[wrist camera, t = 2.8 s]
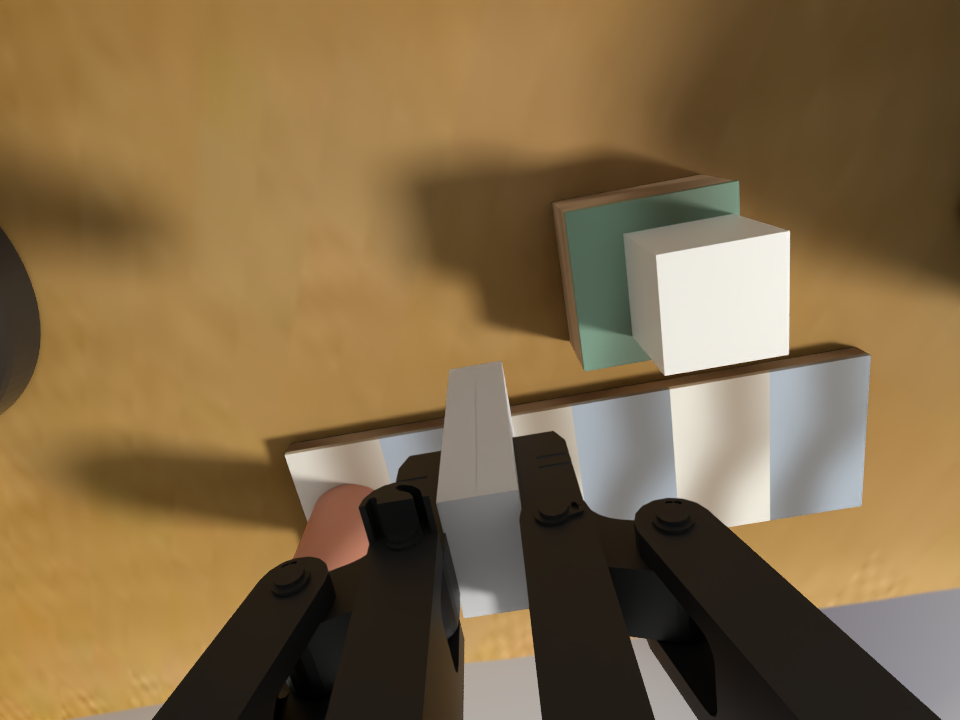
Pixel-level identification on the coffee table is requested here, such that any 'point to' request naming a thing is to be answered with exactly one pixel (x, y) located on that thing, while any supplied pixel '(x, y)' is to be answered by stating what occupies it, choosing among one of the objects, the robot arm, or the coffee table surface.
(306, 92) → the coffee table surface
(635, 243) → the white cube
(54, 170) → the coffee table surface
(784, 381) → the board
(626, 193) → the stand
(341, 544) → the pink rounded cylinder
